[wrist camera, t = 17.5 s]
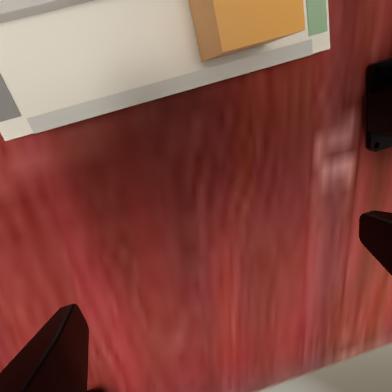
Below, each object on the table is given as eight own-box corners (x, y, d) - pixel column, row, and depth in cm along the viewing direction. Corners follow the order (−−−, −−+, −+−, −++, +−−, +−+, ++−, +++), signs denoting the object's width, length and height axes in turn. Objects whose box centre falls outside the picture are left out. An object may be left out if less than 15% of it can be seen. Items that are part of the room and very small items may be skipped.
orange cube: (256, -31, 14) (297, -72, 11) (266, 44, 16) (305, 29, 12) (185, -13, 14) (203, -50, 10) (202, 61, 16) (222, 52, 12)
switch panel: (308, -60, 16) (339, -88, 13) (315, 51, 18) (343, 45, 16) (-44, 24, 14) (-82, 9, 11) (16, 137, 16) (-6, 145, 14)
